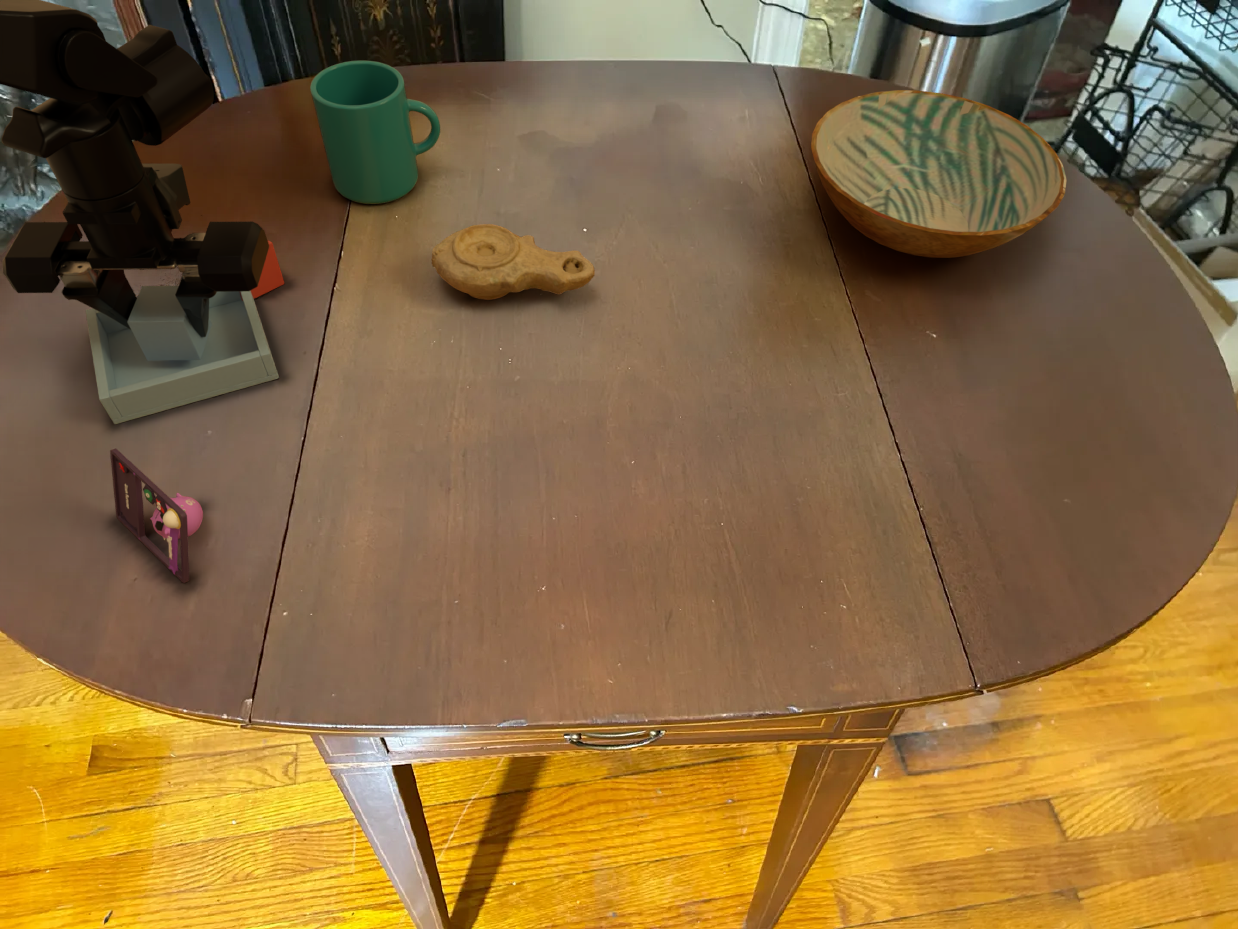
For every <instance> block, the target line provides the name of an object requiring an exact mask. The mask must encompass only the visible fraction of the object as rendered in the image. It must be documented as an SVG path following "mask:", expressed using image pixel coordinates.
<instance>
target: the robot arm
mask: <svg viewBox="0 0 1238 929" xmlns="http://www.w3.org/2000/svg"><path fill="white" fill-rule="evenodd" d="M0 85H2V86H4V87H5V86H6V87H9V88H12V89H16V90H19V91H24V92H27V93H31V94H34V95H37V96H42V97H47V98H48V99H46V100H44V101H43V102H42V103H40V104H39V105H37V106H36V107H34V108H33V109H31V110H30V109H27V108H24V107H22V106H14V107H13V108H12V114H11V118H10V120H9V123H8V124H7V125H6V126H5V128H4V130H3V134H2V136H1V143H2V144H3V146H5V147H7V148H10V149H14V150H17V151H20V152H23V153H26V154H30V155H33V156H36V157H39V158H43V159H45V160H46V161H47V164H48V166H49V167H50V169H51V172H52V173H53V175H54V177H55V179H56V182H57V183H58V185H59V187H60V188H61V190H62V192H63V194H64V196H65V199H66V200H67V203H66V205H65V207H64V209H63V211H62V215H63V216H64V219H65V220H66V221H25V222H24V224H22V226H21V228H20V229H19V231H18V233H17V234H16V236H15V238H14V239H13V241H12V243H11V245H10V247H9V249H8V250H7V252H6V254H5V255H4V258H3V259H2V261H1V264H2V265H1V266H2V273H3V275H4V277H5V278H6V279H7V281H8V283H9V284H10V286H11V287H12V289H13V290H14V291H15V292H16V293H17V294H53V293H54V291H55V290H56V288H57V287H58V286H59V284H60V282H62V284H63V285H64V286H63V288H62V290H61V294H62V296H63V297H64V298H65V299H66V300H68V301H69V300H71V301H72V300H75V301H78V302H80V303H81V304H84V305H85V306H88V307H89V308H90V309H92V308H93V309H95V310H97V311H99V312H101V313H103V314H105V315H107V316H108V317H110V318H112V319H114V320H115V321H117V322H119V323H120V324H122V325H124V326H125V327H127V328H128V329H130V330H131V328H130V326H129V324H128V322H127V321H128V319H129V316H130V314H131V312H132V309H133V307H134V304H135V302H136V299H137V297H138V296H137V295H136V294H135V292H134V289H133V288H132V286H131V284H130V282H129V280H128V278H127V277H126V274H125V271H126V270H127V271H128V270H130V271H133V270H136V271H137V270H140V271H141V270H147V271H148V270H149V271H151V270H175V269H176V268H177V269H178V270H179V273H181V278H180V281H179V283H178V285H177V286H178V288H177V291H176V294H175V296H176V298H177V300H178V301H179V303H180V305H181V307H182V308H183V310H184V312H185V314H186V315H187V317H188V319H189V321H190V322H191V324H192V326H193V328H194V329H195V330H196V332H197V333H198V334H199V335H200V336H201V337H206V335H207V332H208V322H209V298H212V297H214V296H215V295H216V293H217V292H233V291H251V290H252V289H254V288H256V287H258V284H259V280H260V277H261V273H262V270H263V267H264V263H265V260H266V256H267V253H268V250H269V243H268V240H269V239H268V237H267V235H266V230H265V229H263V227H262V226H261V225H260V224H258V223H257V222H254V221H251V220H250V221H248V220H247V221H209V223H208V225H207V228H206V231H205V232H192V233H189V234H187V235H186V236H185V237H174V236H173V233H172V232H173V230H179V229H180V227H181V225H182V223H183V218H182V215H181V213H180V210H181V209H182V208H184V207H185V206H189V205H191V199H190V198H191V197H190V194H189V189H188V186H187V181H186V177H185V172H184V168H183V165H182V164H180V163H142V160H141V158H140V156H139V153H138V151H137V149H136V147H135V145H134V142H133V141H135V142H139V143H141V144H143V145H146V146H152V147H156V146H159V145H162V144H163V143H165V142H166V141H167V140H168V139H170V138H171V137H172V136H174V135H175V134H176V133H178V132H179V131H180V130H182V129H183V128H184V127H186V126H187V125H189V124H190V123H191V122H192V121H193V120H195V119H196V118H198V117H199V116H200V115H202V114H203V113H204V112H206V111H207V110H208V109H210V107H211V106H212V105H213V102H214V100H215V98H214V97H215V92H214V87H213V83H212V81H211V78H210V77H209V75H208V74H206V72H204V70H203V68H202V67H201V65H200V64H199V63H198V61H197V60H196V59H195V58H194V57H193V56H192V55H191V54H190V53H189V52H188V51H187V50H185V49H184V48H182V47H181V46H180V45H178V43H177V41H176V37H175V35H174V32H173V30H171V29H167V28H163V27H159V26H156V25H152V24H148V25H147V26H145V27H144V28H142V29H141V30H139V31H138V32H137V33H136V34H135V35H134V36H133V37H132V38H131V39H130V40H128V41H127V42H125V43H123V44H122V45H120V46H119V47H115V46H114V45H112V44H111V43H110V42H108V41H107V40H106V38H105V34H104V32H103V31H102V29H101V28H100V26H99V23H98V21H97V19H96V18H95V17H93V16H92V15H91V14H89V13H87V12H84V11H81V10H79V9H76V8H73V7H69V6H64V5H61V4H57V3H53V2H49V1H46V0H0ZM79 225H80V227H79ZM81 229H82V231H83V233H84V234H83V233H82V231H81ZM84 235H85V237H86V239H87V240H84V241H83V240H82V238H83V236H84Z"/></svg>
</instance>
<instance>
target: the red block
mask: <svg viewBox="0 0 1238 929" xmlns="http://www.w3.org/2000/svg"><path fill="white" fill-rule="evenodd" d="M267 240H268V243H269V250H268V253H267V256H266V260H265V263H264V267H263V270H262V273H261V277H260V280H259V284H258V287H256V288H254V289H252V290H251V293H252V296H253V299H254V300H255V299H257V298H259V297H261V296H263V295H265V294H267V293H269V292H271V291H274V290H275V289H277V288H279V287H281V286H283V285H285V280H284V276H283V274H282V270H281V267H280V264H279V260H278V257H277V254H276V250H275V247H274V244H273V242H272V241H270V240H269V239H267ZM239 292H240V291H239ZM240 296H241V300H242V301H243V298H242V295H241V292H240Z"/></svg>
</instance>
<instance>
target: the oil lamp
mask: <svg viewBox="0 0 1238 929" xmlns="http://www.w3.org/2000/svg"><path fill="white" fill-rule="evenodd" d="M431 265H432V267H433V268H434V269H435V270H436V272H437V274H438V275H439V276H440V277H441V279H442V280H443V281H445V282H446V283H447V284H448V285H450V287H452V288H454V289H455V290H458V291H459V292H462V293H466V294H468V295H469V296H470V297H472V298H475V299H478V300H487V301H488V300H497V299H500V298H503V297H504V296H506V295H508V294H509V293H520V292H522V291H525V290H530V289H537V290H538V289H539V290H541V291H544V292H545V291H546V292H550V293H552V294H556V295H561V294H563V293H565V292H571V291H575V290H578V289H580V288H583V287H584V286H586V285H587V284H589V283H590V282H591V281H592V279H593V278H594V277H595V271H596V270H595V266H594V264H593V263H592V262H591V261H590V260H589V259H587V258H586V257H584V255H582V253H581V251H580V250H568V251H553V250H546V249H545V248H542V247H539V246H538V245H536V241H535V237H534V235H530V234H525V235H522V236H519V235H517V234H516V233H514V232H512V231H510V230H509V229H508V228H506V227H504V226H500V225H497V224H492V223H484V224H483V223H481V224H473V225H470V226H467V227H465V228H463V229H460V230H458V231H455V232H453V233H451V234H450V235H449V236H446V237H445V238H444V239H442V240H441V241H440V242H439V243H436V245H435V246H433V248H432V251H431Z"/></svg>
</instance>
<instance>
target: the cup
mask: <svg viewBox="0 0 1238 929" xmlns="http://www.w3.org/2000/svg"><path fill="white" fill-rule="evenodd" d="M309 90H310V94H311V95H310V96H311V98H312V103H313V107H314V111H315V115H316V120H317V124H318V127H319V132H320V135H321V139H322V140H321V141H322V143H323V147H324V152H325V156H326V160H327V164H328V168H329V172H330V176H331V181H332V184H333V186H334V188H335V190H336V191H337V192H338V193H339V194H340V195H341V196H342V197H344V198H346V199H348V200H350V201H352V202H355V203H359V204H364V205H365V204H366V205H379V204H386V203H390V202H393V201H396V200H398V199H401V198H403V197H405V196H406V195H408V194H409V193H410V192H411V191H412V190H413V189H414V187H415V186H416V184H417V182H418V179H419V168H418V160H417V156H419V155H422V154H424V153H426V152H428V151H429V150H431V149H432V148H433V147H434V146H435V145H436V144H437V142H438V141H439V139H440V134H441V122H440V118H439V117H438V114H437V113H436V112H435V109H433V108H432V107H431V106H430V105H429V104H427V103H425V102H423V101H420V100H417V99H412V98H408V97H407V91H406V85H405V80H404V76H403V75H402V74H401V73H400V71H399V70H398V69H396V68H394V67H393V66H391V65H389V64H387V63H383V62H379V61H373V60H351V61H350V60H349V61H344V62H340V63H336V64H334V65H331V66H329V67H326V68H324V69H323V70H321V71H320V72H318V73H317V74H316V75H315V76H314V77H313V78H312V80H311V83H310V88H309ZM410 112H416V113H419V114H422V115H424V116H425V117H426V118H427V119H428V121H429V123H430V132H429V134H428V136H426V137H425V138H424V139H423V140H421V141H419V142H415V141H414V136H413V130H412V124H411V116H410Z"/></svg>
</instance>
